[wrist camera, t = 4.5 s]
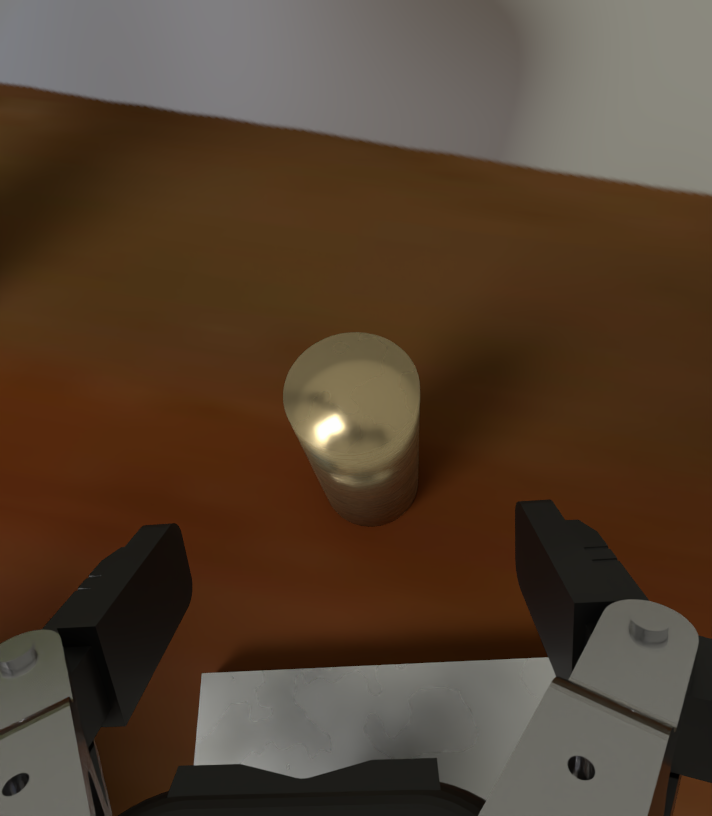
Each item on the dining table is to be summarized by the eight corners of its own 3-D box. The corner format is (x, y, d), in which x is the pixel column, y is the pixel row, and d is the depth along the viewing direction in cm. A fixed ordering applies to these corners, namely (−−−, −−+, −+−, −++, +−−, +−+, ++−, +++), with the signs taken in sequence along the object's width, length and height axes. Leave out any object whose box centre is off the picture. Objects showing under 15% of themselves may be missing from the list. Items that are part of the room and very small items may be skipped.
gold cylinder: (324, 440, 26) (284, 338, 18) (413, 434, 26) (413, 326, 18) (325, 529, 24) (281, 457, 16) (422, 523, 24) (427, 447, 16)
